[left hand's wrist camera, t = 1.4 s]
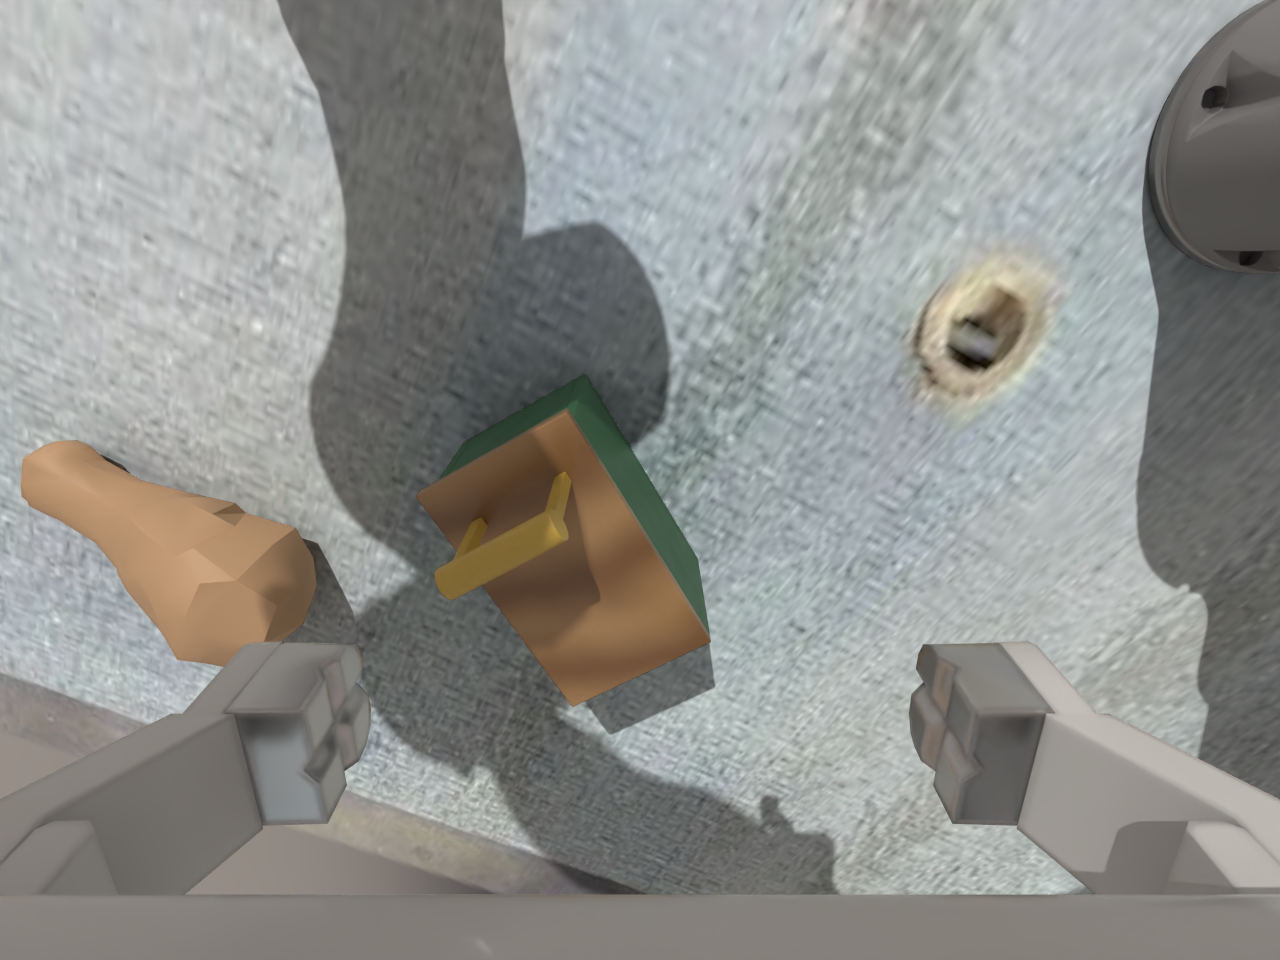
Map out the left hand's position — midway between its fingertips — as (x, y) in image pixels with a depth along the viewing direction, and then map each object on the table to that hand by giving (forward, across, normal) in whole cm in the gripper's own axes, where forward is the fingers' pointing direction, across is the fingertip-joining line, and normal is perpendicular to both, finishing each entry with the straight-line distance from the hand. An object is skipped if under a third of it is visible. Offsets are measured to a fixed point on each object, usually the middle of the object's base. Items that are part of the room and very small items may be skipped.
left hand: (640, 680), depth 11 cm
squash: (+39, +32, +16) cm, 52 cm away
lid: (+29, +4, +14) cm, 32 cm away
